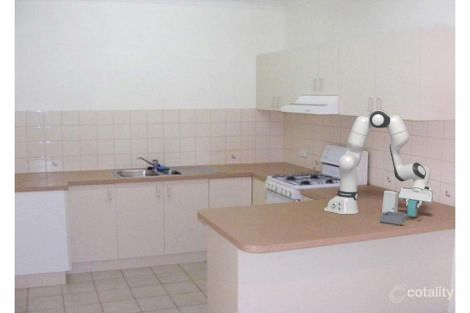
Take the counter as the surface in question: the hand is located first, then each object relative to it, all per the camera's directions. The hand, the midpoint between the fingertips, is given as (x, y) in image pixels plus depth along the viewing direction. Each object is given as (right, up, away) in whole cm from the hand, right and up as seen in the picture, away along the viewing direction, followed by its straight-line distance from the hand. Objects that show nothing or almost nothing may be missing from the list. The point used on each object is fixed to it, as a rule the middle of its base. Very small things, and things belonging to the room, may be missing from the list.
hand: (412, 207), depth 323 cm
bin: (-13, -9, -5) cm, 16 cm away
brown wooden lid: (0, -8, +1) cm, 9 cm away
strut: (0, -5, +1) cm, 5 cm away
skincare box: (-9, -7, +18) cm, 21 cm away
